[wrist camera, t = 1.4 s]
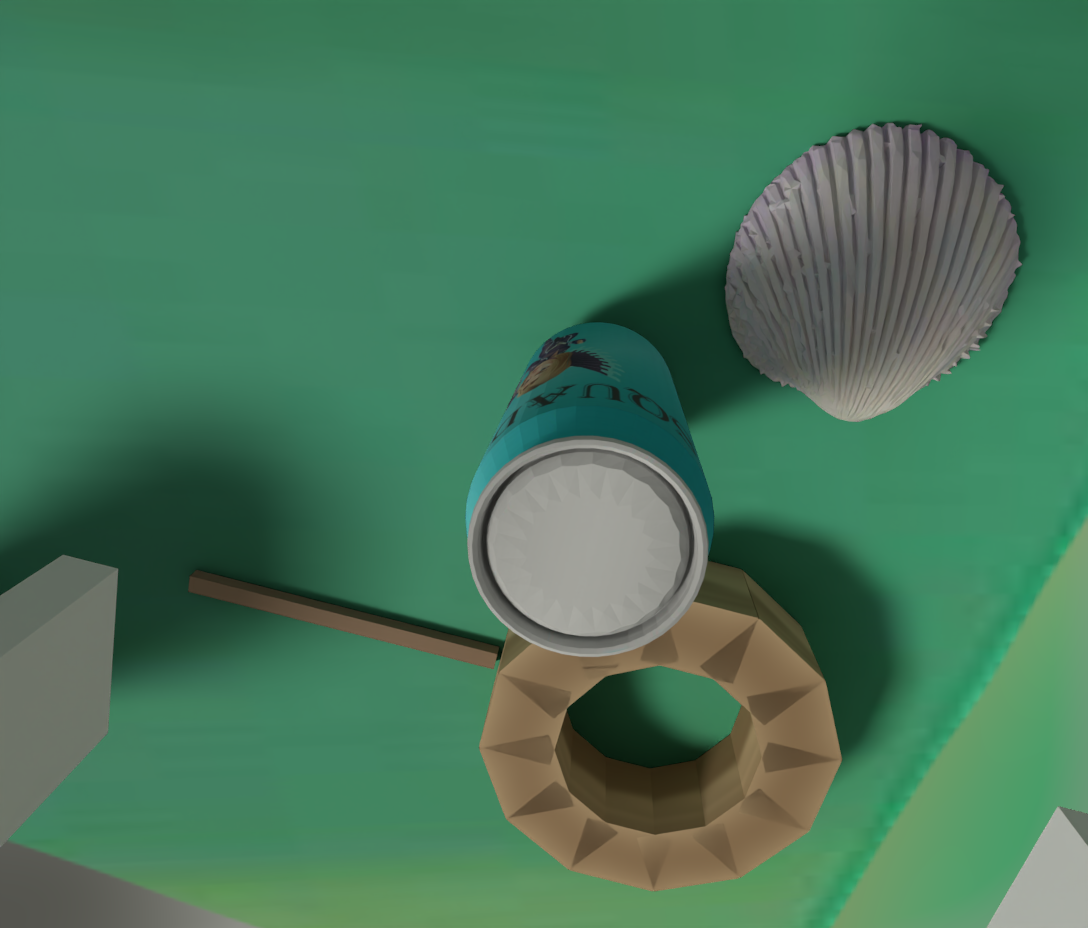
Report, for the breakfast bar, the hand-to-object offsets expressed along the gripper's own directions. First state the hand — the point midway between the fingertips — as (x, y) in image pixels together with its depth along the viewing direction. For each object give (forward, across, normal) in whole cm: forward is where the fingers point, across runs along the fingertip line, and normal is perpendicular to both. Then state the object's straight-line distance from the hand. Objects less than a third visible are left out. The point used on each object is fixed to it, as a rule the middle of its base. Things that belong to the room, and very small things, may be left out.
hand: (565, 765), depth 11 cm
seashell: (+22, +8, +7) cm, 24 cm away
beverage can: (+21, 0, 0) cm, 21 cm away
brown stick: (+21, -8, -12) cm, 26 cm away
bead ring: (+21, +6, -12) cm, 25 cm away
